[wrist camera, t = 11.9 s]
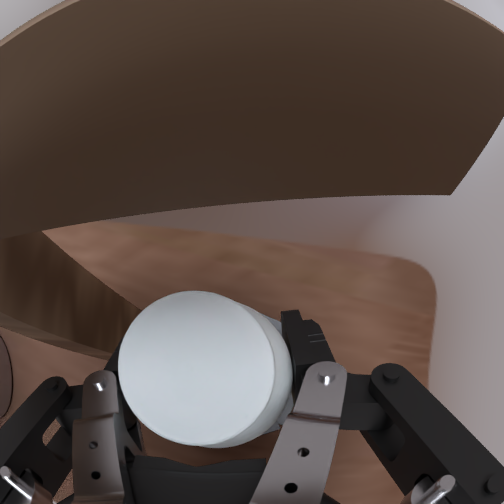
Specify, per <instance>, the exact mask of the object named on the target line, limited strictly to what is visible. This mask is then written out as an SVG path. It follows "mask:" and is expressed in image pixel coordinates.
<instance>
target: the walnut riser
mask: <svg viewBox="0 0 504 504" xmlns="http://www.w3.org/2000/svg"><path fill="white" fill-rule="evenodd" d="M503 117H504V32H503V31H502V30H500V29H499V28H497V27H496V26H494V25H493V24H491V23H490V22H488V21H487V20H485V19H483V18H482V17H480V16H479V15H477V14H476V13H474V12H472V11H470V10H469V9H467V8H465V7H464V6H462V5H460V4H458V3H456V2H454V1H452V0H65V1H63V2H61V3H59V4H57V5H55V6H54V7H52V8H50V9H48V10H46V11H45V12H43V13H41V14H39V15H37V16H36V17H34V18H33V19H31V20H29V21H28V22H26V23H25V24H23V25H22V26H20V27H19V28H17V29H16V30H14V31H13V32H11V33H10V34H9V35H7V36H6V37H4V38H3V39H2V40H0V326H1V327H4V328H6V329H9V330H11V331H14V332H16V333H19V334H22V335H24V336H27V337H30V338H33V339H36V340H39V341H41V342H45V343H48V344H51V345H54V346H57V347H60V348H64V349H67V350H70V351H74V352H78V353H81V354H85V355H89V356H93V357H97V358H101V359H105V360H109V359H110V358H111V356H112V354H113V352H115V349H116V347H117V346H118V344H119V342H120V340H121V339H122V337H123V336H125V334H126V332H127V330H128V328H129V327H130V325H131V323H132V322H133V321H134V319H135V318H136V317H137V316H138V315H139V314H140V313H141V312H142V311H141V310H140V309H138V308H137V307H135V306H134V305H133V304H131V303H130V302H128V301H127V300H126V299H124V298H123V297H121V296H120V295H119V294H117V293H116V292H115V291H113V290H112V289H111V288H109V287H108V286H107V285H105V284H104V283H103V282H101V281H100V280H99V279H97V278H96V277H95V276H94V275H92V274H91V273H90V272H89V271H87V270H86V269H85V268H84V267H82V266H81V265H80V264H79V263H77V262H76V261H75V260H74V259H73V258H71V257H70V256H69V255H68V254H67V253H65V252H64V251H63V250H62V249H61V248H60V247H59V246H57V245H56V244H55V243H54V242H53V241H52V240H51V239H49V238H48V237H47V236H46V235H45V234H44V233H43V232H42V231H43V230H48V229H53V228H58V227H64V226H70V225H75V224H81V223H87V222H93V221H99V220H106V219H111V218H119V217H126V216H133V215H140V214H147V213H154V212H162V211H171V210H178V209H187V208H197V207H205V206H216V205H226V204H237V203H248V202H261V201H274V200H288V199H304V198H322V197H343V196H344V197H345V196H375V195H376V196H377V195H451V194H452V193H453V191H454V190H455V189H456V187H457V186H458V185H459V183H460V182H461V181H462V179H463V178H464V177H465V175H466V174H467V172H468V171H469V170H470V168H471V167H472V165H473V164H474V163H475V161H476V160H477V158H478V157H479V155H480V154H481V152H482V151H483V149H484V148H485V146H486V145H487V143H488V142H489V140H490V138H491V137H492V135H493V134H494V132H495V130H496V129H497V127H498V125H499V124H500V122H501V120H502V119H503Z"/></svg>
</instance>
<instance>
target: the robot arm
mask: <svg viewBox="0 0 504 504" xmlns="http://www.w3.org/2000/svg"><path fill="white" fill-rule="evenodd" d="M281 327H282V338H283V339H284V341H285V344H286V346H287V348H288V351H289V353H290V357H291V361H292V368H293V381H292V389H291V393H292V398H293V403H294V409H293V412H292V413H289V414H288V415H287V417H286V419H285V422H284V425H283V427H282V430H281V432H280V435H279V437H278V440H277V442H276V445H275V447H274V450H273V452H272V454H271V457H270V459H269V461H268V464H267V466H266V458H263V459H248V460H230V461H226V462H221V463H216V464H211V465H206V466H200V467H194V466H190V465H186V464H183V463H179V462H176V461H173V460H169V459H166V458H160V457H151V456H147V454H146V450H145V446H144V441H143V437H142V432H141V427H140V423H139V421H138V419H137V416H136V415H135V414H134V413H133V411H132V410H131V408H130V407H129V405H128V403H127V401H126V399H125V397H124V394H123V392H122V389H121V386H120V381H119V374H118V358H119V351H120V347H121V344H122V341H123V338H124V336H123V337H122V339H121V340H120V342H119V344H118V346H117V347H116V349H115V352H113V354H112V356H111V358H110V359H109V361H108V363H107V365H106V366H105V368H104V370H101V371H97V372H94V373H92V374H91V375H89V376H88V377H87V378H86V379H85V381H84V384H83V385H77V386H68V384H67V382H66V381H65V379H64V378H62V377H58V376H56V377H51V378H48V379H47V380H45V381H44V382H43V383H42V384H41V385H40V386H39V387H38V388H37V389H36V390H35V391H34V392H33V393H32V394H31V395H30V396H29V397H28V398H27V400H26V401H25V402H24V403H23V404H22V405H21V406H20V407H19V408H18V409H17V410H16V412H15V413H14V414H13V415H12V416H11V417H10V418H9V419H8V421H7V422H6V423H5V424H4V425H3V426H2V427H1V429H0V504H53V500H52V499H53V497H54V496H55V494H56V492H57V491H58V489H59V488H60V486H61V485H62V483H63V482H64V480H65V478H66V477H67V475H68V474H69V472H70V471H71V469H72V468H73V486H74V493H73V494H72V495H70V496H68V497H67V498H65V499H64V500H62V501H60V502H59V503H57V504H340V503H338V502H337V501H335V500H334V499H332V498H331V497H329V496H328V495H327V494H325V493H324V488H325V484H326V481H327V477H328V473H329V469H330V465H331V461H332V457H333V453H334V448H335V444H336V439H337V434H338V430H339V429H343V430H359V431H360V432H361V434H362V435H363V437H364V438H365V440H366V441H367V443H368V444H369V445H370V447H371V448H372V450H373V451H374V453H375V454H376V455H377V457H378V458H379V460H380V461H381V463H382V464H383V466H384V467H385V468H386V470H387V471H388V473H389V474H390V476H391V477H392V478H393V480H394V481H395V483H396V484H397V485H398V487H399V488H400V490H401V491H402V493H403V494H404V495H405V497H404V498H403V500H402V501H401V503H400V504H501V503H502V502H503V501H504V467H503V466H502V465H501V463H499V461H498V460H497V459H496V458H495V457H494V456H493V455H492V454H491V453H490V452H489V451H488V450H487V449H486V448H485V447H484V446H483V445H482V444H481V443H480V442H479V441H478V440H477V439H476V438H475V437H474V436H473V435H472V434H471V433H470V432H469V431H468V430H467V429H466V428H465V426H464V425H462V423H461V422H460V421H458V419H457V418H456V417H454V416H453V415H452V413H451V412H449V410H447V408H445V407H444V406H443V405H442V404H441V403H440V402H439V401H438V400H437V399H436V398H435V397H434V396H433V395H432V394H431V393H430V392H429V391H428V390H427V389H426V388H425V387H424V386H423V385H422V384H421V383H420V382H419V381H418V380H417V379H416V378H415V377H414V376H413V375H412V374H411V373H410V372H409V371H408V370H407V369H405V368H404V367H403V366H401V365H398V364H393V363H386V364H382V365H379V366H377V367H376V368H375V369H374V370H373V371H372V374H371V375H358V374H351V373H348V372H347V371H346V370H345V368H344V367H343V366H342V365H340V364H338V363H336V362H335V360H334V357H333V355H332V353H331V350H330V348H329V346H328V343H327V341H326V339H325V337H324V334H323V332H322V330H321V328H320V325H318V324H317V323H316V322H315V321H313V320H312V319H311V320H302V318H301V315H300V312H299V310H289V311H281ZM11 390H12V375H11V366H10V361H9V356H8V353H7V350H6V347H5V345H4V342H3V340H2V339H1V337H0V418H1V417H2V416H3V415H4V414H5V413H6V411H7V409H8V406H9V403H10V399H11ZM55 418H56V420H57V421H58V422H59V424H60V425H61V427H60V428H59V430H58V431H57V432H56V434H55V435H54V436H53V438H52V439H51V440H50V442H49V443H48V444H47V446H45V445H44V443H43V441H42V436H43V434H44V432H45V431H46V430H47V428H48V427H49V426H50V425H51V423H52V422H53V421H54V420H55Z"/></svg>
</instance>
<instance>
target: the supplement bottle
mask: <svg viewBox="0 0 504 504" xmlns="http://www.w3.org/2000/svg"><path fill="white" fill-rule="evenodd" d="M118 374H119V381H120V386H121V389H122V392H123V394H124V397H125V399H126V401H127V403H128V405H129V407H130V408H131V410H132V411H133V413H134V414H135V415H136V416H137V418H138V419H139V420H140V421H141V422H142V423H143V424H144V425H145V426H147V427H148V428H149V429H150V430H152V431H153V432H155V433H156V434H158V435H160V436H161V437H163V438H166V439H168V440H171V441H173V442H176V443H181V444H185V445H193V446H202V447H208V448H226V447H233V446H237V445H240V444H244V443H246V442H248V441H251V440H253V439H255V438H256V437H258V436H260V435H261V434H263V433H264V432H265V431H267V430H268V429H269V428H270V427H271V426H272V425H273V424H274V423H275V422H276V421H277V419H278V418H279V417H280V415H281V414H282V412H283V410H284V409H285V406H286V404H287V402H288V400H289V396H290V393H291V389H292V381H293V368H292V361H291V357H290V353H289V351H288V348H287V346H286V344H285V341H284V339H283V338H282V336H281V335H280V333H279V332H278V330H277V329H276V328H275V327H274V326H273V324H272V323H271V322H270V321H269V320H268V319H266V318H265V317H264V316H263V315H261V314H260V313H258V312H257V311H256V310H254V309H252V308H250V307H248V306H246V305H243V304H241V303H238V302H235V301H233V300H231V299H229V298H227V297H224V296H222V295H219V294H215V293H211V292H206V291H183V292H178V293H174V294H171V295H168V296H166V297H163V298H161V299H159V300H157V301H155V302H153V303H152V304H151V305H149V306H148V307H146V308H145V309H144V310H143V311H142V312H141V313H140V314H139V315H138V316H137V317H136V318H135V319H134V321H133V322H132V323H131V325H130V327H129V328H128V330H127V332H126V334H125V336H124V338H123V341H122V344H121V347H120V351H119V358H118Z"/></svg>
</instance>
